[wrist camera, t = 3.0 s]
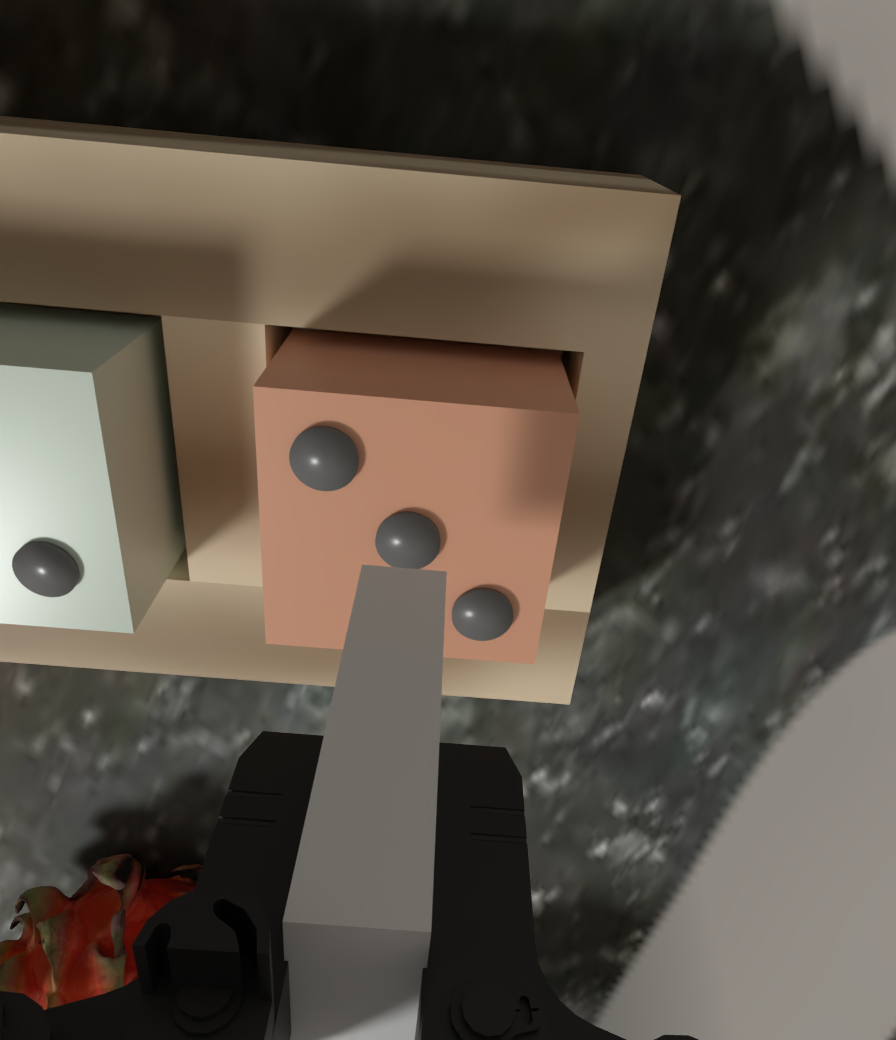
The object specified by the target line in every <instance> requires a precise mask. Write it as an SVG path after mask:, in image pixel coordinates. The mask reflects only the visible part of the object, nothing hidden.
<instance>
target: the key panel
mask: <svg viewBox="0 0 896 1040" xmlns="http://www.w3.org/2000/svg"><path fill="white" fill-rule="evenodd" d="M680 199H681V195H679V194H677V193H675V192H673V191H672V190H670V189H668V188H666V187H664V186H662V185H660V184H658V183H656V182H654V181H652V180H650V179H648V178H646V177H644V176H642V175H635V174H625V173H614V172H603V171H592V170H581V169H571V168H560V167H549V166H538V165H527V164H516V163H506V162H495V161H484V160H473V159H462V158H452V157H441V156H430V155H419V154H408V153H398V152H387V151H376V150H365V149H354V148H344V147H333V146H322V145H311V144H300V143H289V142H279V141H268V140H257V139H246V138H235V137H225V136H214V135H203V134H192V133H181V132H171V131H160V130H149V129H138V128H127V127H117V126H106V125H95V124H84V123H73V122H62V121H52V120H41V119H30V118H19V117H8V116H0V303H4V304H16V305H27V306H39V307H50V308H62V309H73V310H85V311H96V312H108V313H119V314H131V315H142V316H154V317H161V319H162V328H163V337H164V346H165V355H166V365H167V374H168V383H169V392H170V402H171V411H172V420H173V429H174V439H175V448H176V457H177V466H178V476H179V485H180V494H181V503H182V512H183V522H184V531H185V540H186V548H185V550H184V551H183V553H182V555H181V556H180V558H179V560H178V561H177V563H176V564H175V566H174V568H173V569H172V571H171V573H170V574H169V576H168V578H167V579H166V581H165V583H164V584H163V586H162V588H161V589H160V591H159V593H158V594H157V596H156V598H155V599H154V601H153V603H152V604H151V606H150V608H149V609H148V611H147V612H146V614H145V616H144V617H143V619H142V621H141V622H140V624H139V626H138V627H137V629H136V631H135V632H134V634H133V633H120V632H107V631H94V630H81V629H68V628H55V627H42V626H29V625H16V624H3V623H0V661H2V662H15V663H28V664H42V665H55V666H68V667H81V668H94V669H108V670H121V671H134V672H147V673H161V674H174V675H187V676H200V677H213V678H227V679H240V680H253V681H266V682H280V683H293V684H306V685H319V686H332V687H335V684H336V679H337V675H338V670H339V666H340V661H341V657H342V652H343V650H342V649H328V648H315V647H302V646H289V645H276V644H266V640H265V620H264V600H263V580H262V559H261V539H260V519H259V499H258V479H257V459H256V439H255V419H254V399H253V385H254V384H255V383H256V381H257V380H258V378H259V377H260V376H261V374H262V373H263V371H264V370H265V368H266V367H267V366H268V364H269V363H270V361H271V360H272V358H273V357H274V356H275V354H276V353H277V351H278V350H279V349H280V347H281V346H282V344H283V343H284V341H285V340H286V339H287V337H288V336H289V334H290V333H291V331H292V330H293V329H304V330H315V331H327V332H338V333H350V334H362V335H373V336H385V337H396V338H408V339H419V340H431V341H442V342H454V343H465V344H477V345H488V346H500V347H511V348H523V349H535V350H546V351H558V352H559V355H560V358H561V361H562V364H563V366H564V369H565V372H566V375H567V378H568V381H569V384H570V387H571V389H572V392H573V395H574V398H575V401H576V404H577V407H578V410H579V413H580V417H579V423H578V428H577V434H576V439H575V445H574V450H573V456H572V461H571V467H570V472H569V478H568V483H567V489H566V494H565V500H564V505H563V511H562V516H561V522H560V527H559V533H558V538H557V544H556V549H555V555H554V560H553V566H552V571H551V577H550V582H549V588H548V593H547V599H546V604H545V610H544V616H543V621H542V627H541V632H540V638H539V643H538V649H537V654H536V660H535V664H524V663H511V662H498V661H485V660H472V659H459V658H446V657H443V670H442V694H441V695H452V696H465V697H478V698H491V699H504V700H518V701H531V702H544V703H557V704H570V701H571V696H572V691H573V687H574V682H575V678H576V673H577V669H578V664H579V660H580V655H581V650H582V646H583V641H584V637H585V632H586V628H587V623H588V619H589V614H590V609H591V605H592V600H593V596H594V591H595V587H596V582H597V577H598V573H599V568H600V564H601V559H602V555H603V550H604V546H605V541H606V536H607V532H608V527H609V523H610V518H611V514H612V509H613V505H614V500H615V495H616V491H617V486H618V482H619V477H620V473H621V468H622V463H623V459H624V454H625V450H626V445H627V441H628V436H629V432H630V427H631V422H632V418H633V413H634V409H635V404H636V400H637V395H638V390H639V386H640V381H641V377H642V372H643V368H644V363H645V359H646V354H647V349H648V345H649V340H650V336H651V331H652V327H653V322H654V318H655V313H656V308H657V304H658V299H659V295H660V290H661V286H662V281H663V276H664V272H665V267H666V263H667V258H668V254H669V249H670V245H671V240H672V235H673V231H674V226H675V222H676V217H677V213H678V208H679V204H680Z"/></svg>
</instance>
